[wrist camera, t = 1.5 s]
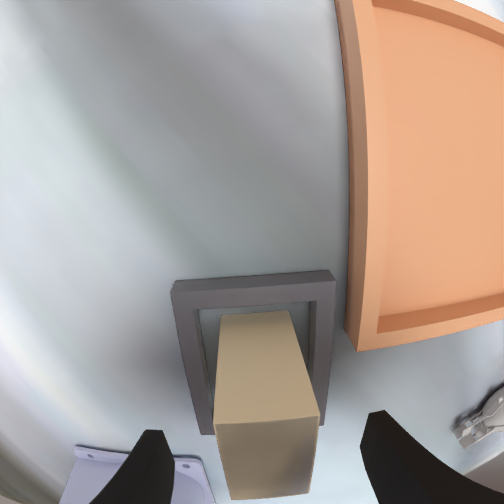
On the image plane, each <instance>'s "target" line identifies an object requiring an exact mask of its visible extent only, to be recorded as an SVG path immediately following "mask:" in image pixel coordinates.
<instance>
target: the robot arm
mask: <svg viewBox="0 0 504 504" xmlns="http://www.w3.org/2000/svg"><path fill="white" fill-rule="evenodd" d="M360 450H361V454H362V458H363V462H364V466H365V470H366V472H367V475H368V477H369V480H370V482H371V485H372V487H373V490H374V492H375V495H376V497H377V500H378V502H379V504H504V494H503V493H500V492H497V491H494V490H492V489H489V488H487V487H485V486H483V485H481V484H478V483H476V482H474V481H472V480H470V479H468V478H467V477H465V476H463V475H461V474H460V473H458V472H456V471H455V470H453V469H452V468H450V467H449V466H447V465H446V464H445V463H443V462H442V461H440V460H439V459H438V458H437V457H435V456H434V455H433V454H431V453H430V452H429V451H428V450H427V449H425V448H424V447H423V446H422V445H421V444H420V443H419V442H417V441H416V440H415V439H414V438H413V437H412V436H411V435H410V434H409V433H408V432H407V431H406V430H405V429H403V428H402V427H401V426H400V425H399V424H398V423H397V422H396V421H395V420H394V419H393V418H392V417H391V416H390V415H389V414H388V413H387V412H386V411H385V410H382V411H378V412H373V413H369V415H368V419H367V422H366V426H365V430H364V433H363V437H362V440H361V444H360ZM73 452H74V454H75V455H76V457H77V459H76V461H75V464H74V466H73V469H72V471H71V474H70V476H69V479H68V481H67V484H66V486H65V489H64V492H63V494H62V497H61V500H60V502H59V504H216V503H215V500H214V497H213V495H212V492H211V489H210V486H209V483H208V480H207V477H206V474H205V471H204V468H203V465H202V462H201V461H200V460H198V459H195V458H173V455H172V453H171V451H170V448H169V446H168V443H167V440H166V438H165V435H164V433H163V430H147V429H146V430H145V431H144V432H143V434H142V436H141V437H140V439H139V440H138V442H137V443H136V445H135V446H134V448H133V449H132V451H131V452H130V454H123V453H115V452H108V451H101V450H95V449H89V448H83V447H77V446H76V447H74V450H73Z"/></svg>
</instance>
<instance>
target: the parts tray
mask: <svg viewBox="0 0 504 504" xmlns="http://www.w3.org/2000/svg"><path fill="white" fill-rule="evenodd" d="M335 7H336V13H337V20H338V27H339V35H340V43H341V51H342V60H343V70H344V81H345V93H346V107H347V123H348V144H349V183H350V216H349V256H348V278H347V295H346V309H345V321H344V330H345V332H346V334H347V335H348V337H349V339H350V341H351V342H352V344H353V346H354V348H355V350H356V351H357V352H361V351H367V350H373V349H379V348H385V347H390V346H395V345H401V344H406V343H411V342H415V341H420V340H425V339H429V338H434V337H438V336H442V335H447V334H451V333H455V332H459V331H463V330H467V329H470V328H474V327H478V326H481V325H485V324H488V323H492V322H495V321H499V320H502V319H504V23H503V22H501V21H499V20H497V19H495V18H493V17H491V16H489V15H487V14H485V13H483V12H480V11H478V10H476V9H474V8H471V7H469V6H466V5H464V4H461V3H459V2H456V1H454V0H335Z"/></svg>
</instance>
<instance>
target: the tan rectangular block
mask: <svg viewBox="0 0 504 504" xmlns="http://www.w3.org/2000/svg"><path fill="white" fill-rule="evenodd" d="M319 421H320V412H319V408H318V405H317V402H316V399H315V395H314V392H313V389H312V385H311V382H310V379H309V376H308V372H307V369H306V366H305V363H304V359H303V356H302V353H301V350H300V346H299V343H298V340H297V337H296V334H295V330H294V327H293V324H292V321H291V318H290V315H289V311H288V310H285V311H273V312H260V313H246V314H231V315H221V322H220V334H219V346H218V359H217V373H216V387H215V401H214V417H213V425H214V430H215V435H216V439H217V444H218V448H219V452H220V457H221V461H222V465H223V469H224V473H225V477H226V481H227V485H228V489H229V493H230V497H231V500H246V499H262V498H274V497H284V496H293V495H301V494H308V493H309V490H310V484H311V478H312V472H313V465H314V459H315V452H316V444H317V437H318V429H319Z"/></svg>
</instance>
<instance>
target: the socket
mask: <svg viewBox="0 0 504 504" xmlns="http://www.w3.org/2000/svg"><path fill="white" fill-rule="evenodd" d="M170 294H171V300H172V306H173V311H174V317H175V322H176V327H177V333H178V338H179V343H180V348H181V353H182V357H183V362H184V367H185V371H186V376H187V380H188V385H189V389H190V393H191V398H192V402H193V406H194V410H195V414H196V418H197V422H198V426H199V430H200V433H201V435H215V430H214V425H213V417H214V404H213V399H212V393H211V388H210V382H209V377H208V371H207V365H206V359H205V353H204V347H203V341H202V334H201V328H200V321H199V315H198V309H212V308H229V307H244V306H258V305H271V304H284V303H295V302H306V301H310V332H309V358H308V376H309V379H310V382H311V385H312V389H313V392H314V395H315V399H316V402H317V405H318V408H319V412H320V421H319V426H322V425H324V419H325V411H326V403H327V395H328V386H329V376H330V366H331V355H332V344H333V331H334V316H335V299H336V279H335V278H334V277H333V275H332V274H331V273H330V271H329V270H324V271H311V272H299V273H286V274H272V275H259V276H244V277H230V278H214V279H198V280H181V281H175V283H174V285H173V287H172V290H171V292H170Z"/></svg>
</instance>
